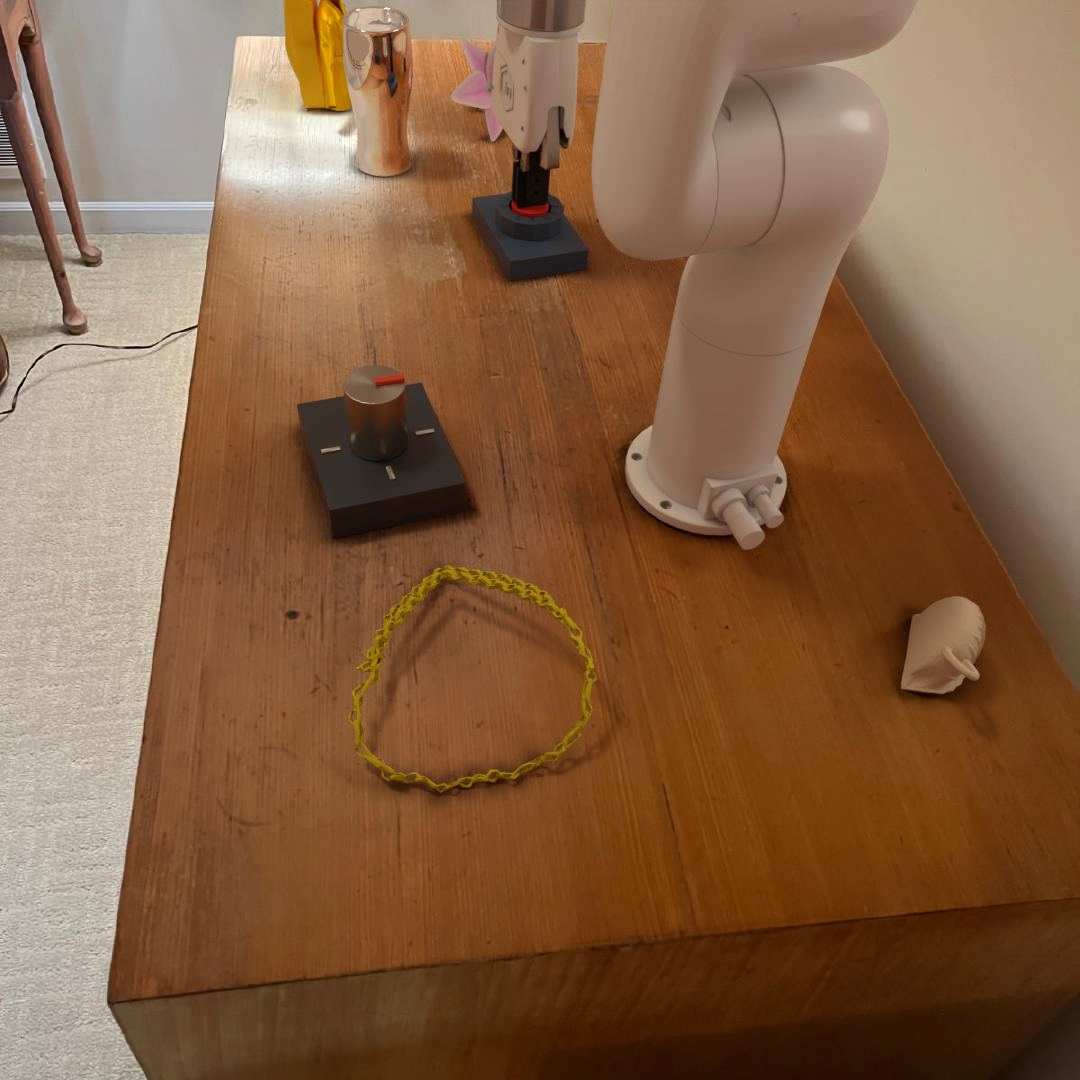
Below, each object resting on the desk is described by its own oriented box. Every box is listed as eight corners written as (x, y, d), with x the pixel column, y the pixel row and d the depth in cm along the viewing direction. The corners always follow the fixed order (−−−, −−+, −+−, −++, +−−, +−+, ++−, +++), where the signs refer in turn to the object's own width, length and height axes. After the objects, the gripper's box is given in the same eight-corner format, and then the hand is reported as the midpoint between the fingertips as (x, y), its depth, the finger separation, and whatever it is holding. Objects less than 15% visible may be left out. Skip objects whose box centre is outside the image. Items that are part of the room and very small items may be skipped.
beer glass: (400, 184, 108) (393, 38, 97) (340, 170, 109) (327, 24, 98) (425, 155, 113) (422, 13, 102) (368, 142, 114) (358, 0, 103)
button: (552, 227, 100) (554, 210, 98) (518, 231, 99) (518, 215, 97) (540, 208, 102) (541, 192, 101) (506, 213, 101) (506, 196, 100)
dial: (355, 466, 75) (349, 405, 70) (343, 427, 77) (337, 366, 73) (414, 455, 76) (411, 394, 71) (400, 418, 78) (397, 357, 74)
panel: (465, 511, 76) (465, 480, 74) (333, 539, 74) (329, 509, 71) (422, 410, 84) (421, 380, 82) (300, 432, 81) (296, 402, 79)
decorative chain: (438, 570, 72) (429, 527, 69) (635, 635, 68) (636, 593, 64) (313, 759, 63) (295, 721, 60) (531, 851, 58) (526, 815, 55)
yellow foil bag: (353, 137, 115) (337, -83, 99) (282, 134, 114) (254, -87, 98) (363, 69, 127) (350, -136, 111) (299, 66, 126) (276, -141, 110)
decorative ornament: (971, 634, 71) (1001, 584, 67) (957, 727, 66) (989, 679, 62) (913, 614, 72) (939, 565, 68) (894, 705, 67) (922, 656, 63)
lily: (433, 148, 116) (463, 89, 108) (430, 66, 120) (459, 4, 112) (529, 172, 121) (564, 118, 113) (523, 93, 125) (557, 35, 117)
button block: (586, 269, 99) (590, 232, 97) (509, 281, 97) (511, 244, 94) (544, 207, 107) (547, 171, 104) (471, 217, 105) (472, 180, 102)
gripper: (472, -28, 89) (469, 169, 103) (529, 42, 80) (518, 248, 93) (552, -33, 91) (539, 161, 105) (617, 35, 82) (593, 238, 96)
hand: (529, 202), depth 99 cm, fingers closed
